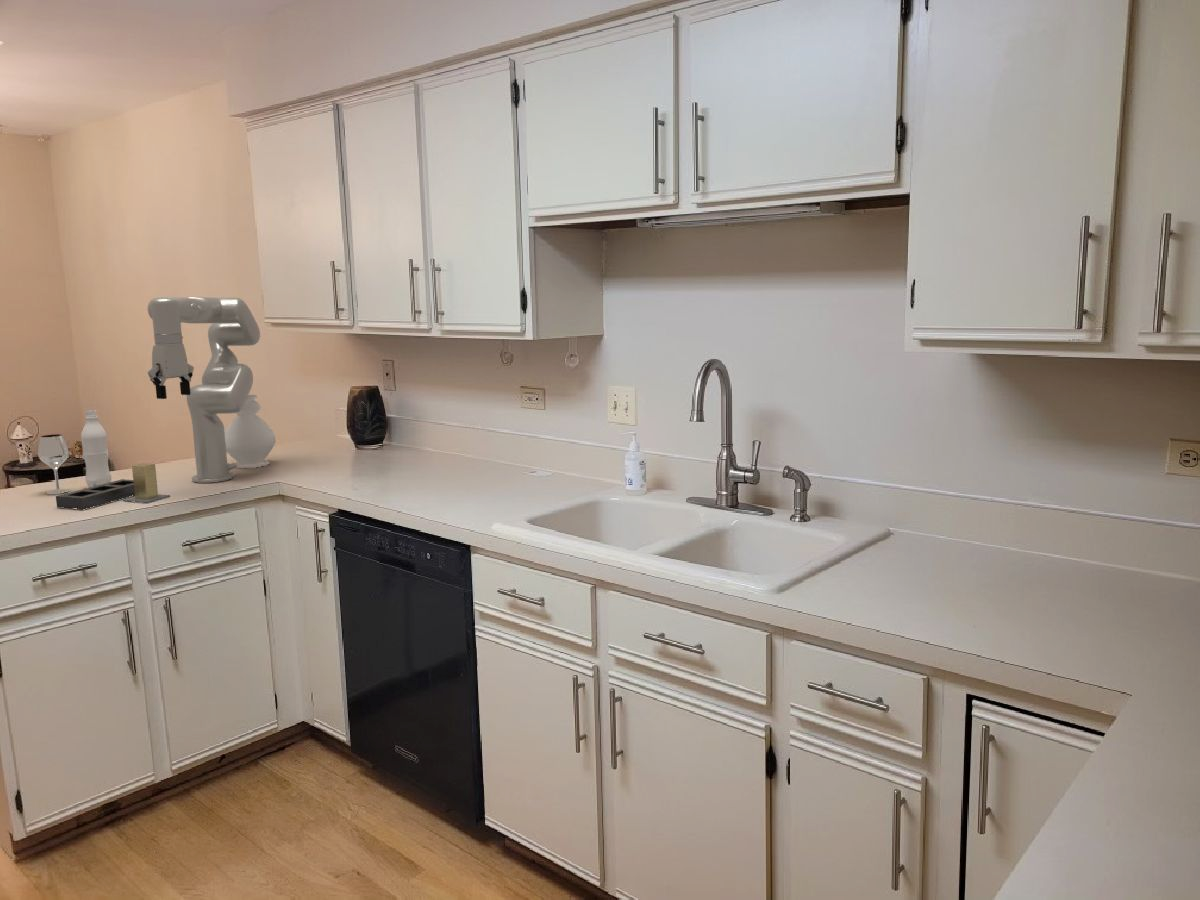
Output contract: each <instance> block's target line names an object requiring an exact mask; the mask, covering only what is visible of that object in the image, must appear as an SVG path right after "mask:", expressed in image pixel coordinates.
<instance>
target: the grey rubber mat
mask: <svg viewBox="0 0 1200 900" xmlns="http://www.w3.org/2000/svg"><path fill="white" fill-rule="evenodd" d="M170 495H171V494H162V493H160V494H159V493H158V496H157V497H154V498H151V499H135V496H133V497H129V498H125V499H122V502H123V501H135V502H144V503H143V504H149V503H148V502H150V503H152V502H151V501H154V502H156V501H155V500H157V501H160V500H163V499H162V498H164V499H167V498H170V497H171V496H170ZM166 497H167V498H166ZM159 499H160V500H159ZM135 502H134V503H135Z"/></svg>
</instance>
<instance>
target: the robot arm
mask: <svg viewBox="0 0 1200 900" xmlns="http://www.w3.org/2000/svg"><path fill="white" fill-rule="evenodd" d="M147 313H148V316H149V318H150V319H151V320H152V325H153V326H152V328H153V338H154V345H152V353H151V367H152V368H150V370H148V371H147V375H148V377H149V378H150V379H149V380H150V381H151V382H152V385H153V386H155V394H156V399H158V400H165V399H167V388H166V385H165V382H166V381H167V379H174V378H178V379H179V380H180V381H179V389H180V394H181V395H182V396H186V402H187V408H188V411H189V414H190V418H191V425H192V434H193V437H192V438H193V445H194V446H193V447H194V457H195V458H194V459H195V467H196V469H195V470H196V474H195V475H193V476H192V477H191V480H192V482H193V483H199V484H201V483H202V484H207V483H208V484H209V483H220V481H221V482H226V481H229V479H230V480H232V479H233V478H234V473H232V472H231V471H232V470H235V469H237V468H236V467H237V465H236V464H235V463H236V462H233V463H229V462H228V457H227V454H228V453H227V451H226V443H225V425H224V423H223V421H222V419H221V418H220V417H219V415H217V414H236V413H237V412H239V411H240V410H241V409H242V408H243V406H244V404H245V401H246V399H247V397H248V395H250V393H251V390H252V387H253V383H254V375H253V371H252V369H251V367H249V365H247V364H245V363H239V360H238V358H237V355H236V354H235V353H234V351H232V350H231V349H230V348H229V347H232V346H233V347H236V346H237V347H238V346H240V347H241V346H242V347H243V346H245V347H247V346H249V347H250V346H255V345H257V344H258V343H259V341H260V339H261V332H260V327H259V325H258V323H257V321H256V319H255V317H254V315H253V313H252V311H251V309H250V308H249V306H248V305H247V303H246V302H245V301H244V300H243V299H242V298H239V297H205V296H204V297H203V296H189V297H188V296H187V297H177V296H176V297H175V296H174V297H172V296H169V297H168V296H167V297H154V298H152V299H151V300H150V301H149V302H148V304H147ZM181 323H185V324H210V325H209V327H208V330H207V337H208V344H209V347H210V352H211V357H210V359H209V362H208V363H207V365H206V367H205V369H204V372H203V374H202V377H201V383H202V384H196V385H194V386H192V387H191V383H190V382H191V381H192V377H193V375H194V374H193V373H194V370H195V366H193V365H191V364H189V363H188V357H187V353H186V348H185V345H184V343H183V338H184V337H183V335H182V333H183V332H182V324H181Z"/></svg>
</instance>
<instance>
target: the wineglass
mask: <svg viewBox="0 0 1200 900" xmlns="http://www.w3.org/2000/svg"><path fill="white" fill-rule="evenodd" d="M37 455H38V458H39V460H40V461H41V462H42V463H44V464H45V465H46V466H48V467H50V468H51V469H52V470H53V473H54V481H55V489H53V490H50V491H47V492H46V493H45V494H46V495H48V494H56V495H61V494H60V493H62V492H63V493H64V492H65V491H66V492H68V491H67V490H69V491H70V492H71V490H70V489H61V488H60V483H59V475H58V474H59V473H58V469H59V468H60V467H61V466H62V464H64V463H65V462H66V461H67V459H68V458H69V455H70V452H69V447H68V445H67V442H66V440H65V438H64V435H63V434H56V433H55V434H46V435H40V438H39V443H38V449H37ZM68 493H69V492H68ZM64 494H65V493H64Z"/></svg>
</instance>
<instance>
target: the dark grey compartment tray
mask: <svg viewBox="0 0 1200 900" xmlns="http://www.w3.org/2000/svg"><path fill="white" fill-rule="evenodd" d="M132 495H135V491H134V482H133V479H117V480H114V481H111V482H110V483H106V484H102V485H98V486H94V487H90V488H89V487H88V488H83V489H79V490H75V491H70V492H68V493H64V494H57V495H55V503H56V508H57V507H64V508H77V509H86V508H90V507H93V506H97V505H100V506H102V505H101V504H104V505H106V504H105V503H108V502H111V501H115V500H118V501H120V500H119V499H122V498H125V499H127V498H126V497H129V496H132ZM129 498H130V497H129ZM122 500H123V499H122ZM115 502H116V501H115ZM111 503H112V502H111ZM108 504H109V503H108ZM97 507H98V506H97ZM64 508H63V509H64ZM93 508H94V507H93ZM90 509H91V508H90ZM86 510H87V509H86Z"/></svg>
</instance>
